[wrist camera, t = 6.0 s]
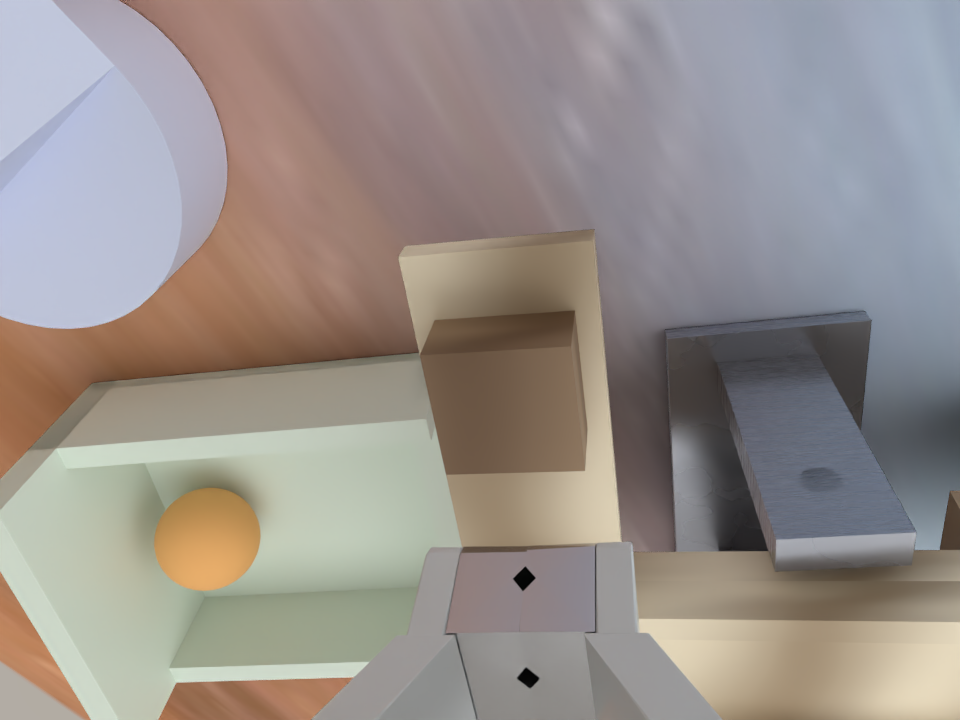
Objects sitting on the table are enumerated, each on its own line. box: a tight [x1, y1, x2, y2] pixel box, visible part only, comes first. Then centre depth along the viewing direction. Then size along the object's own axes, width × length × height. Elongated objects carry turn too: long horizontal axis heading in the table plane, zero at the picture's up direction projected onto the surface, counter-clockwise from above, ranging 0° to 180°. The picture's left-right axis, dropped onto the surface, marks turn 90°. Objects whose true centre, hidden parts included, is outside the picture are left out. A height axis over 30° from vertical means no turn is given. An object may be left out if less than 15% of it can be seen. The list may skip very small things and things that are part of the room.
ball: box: [154, 488, 261, 591], centre depth 29 cm, size 4×4×4 cm
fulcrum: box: [665, 311, 917, 572], centre depth 23 cm, size 12×11×9 cm
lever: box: [398, 229, 960, 720], centre depth 18 cm, size 18×15×6 cm
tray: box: [0, 353, 462, 720], centre depth 27 cm, size 13×11×7 cm
